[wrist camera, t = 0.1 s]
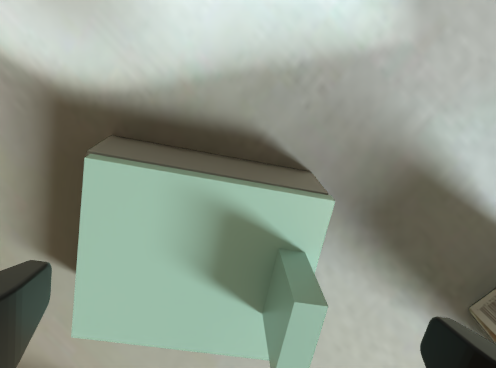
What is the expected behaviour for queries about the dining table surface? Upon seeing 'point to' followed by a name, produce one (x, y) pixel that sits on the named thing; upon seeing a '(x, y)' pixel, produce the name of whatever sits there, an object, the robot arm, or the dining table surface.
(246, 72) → the dining table surface
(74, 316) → the lid
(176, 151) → the tub
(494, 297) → the coffee box
